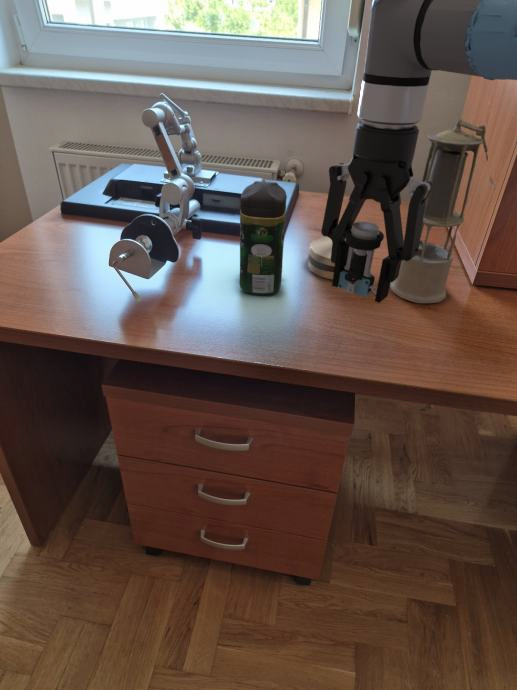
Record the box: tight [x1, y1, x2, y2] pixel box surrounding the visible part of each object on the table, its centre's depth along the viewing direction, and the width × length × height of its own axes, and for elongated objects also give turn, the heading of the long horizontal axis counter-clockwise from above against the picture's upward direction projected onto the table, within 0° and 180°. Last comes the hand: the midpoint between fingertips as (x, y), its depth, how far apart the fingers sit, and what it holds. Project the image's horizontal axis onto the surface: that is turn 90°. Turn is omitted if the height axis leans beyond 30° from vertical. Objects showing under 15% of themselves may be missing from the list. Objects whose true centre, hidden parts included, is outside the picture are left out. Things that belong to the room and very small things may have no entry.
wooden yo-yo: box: [307, 236, 346, 280], centre depth 96 cm, size 12×12×4 cm
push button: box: [337, 221, 385, 298], centre depth 68 cm, size 7×5×10 cm
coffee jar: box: [239, 180, 288, 296], centre depth 85 cm, size 10×8×19 cm
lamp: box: [389, 118, 496, 304], centre depth 82 cm, size 10×13×30 cm
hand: (359, 290), depth 71 cm, fingers closed on push button, 6 cm apart
